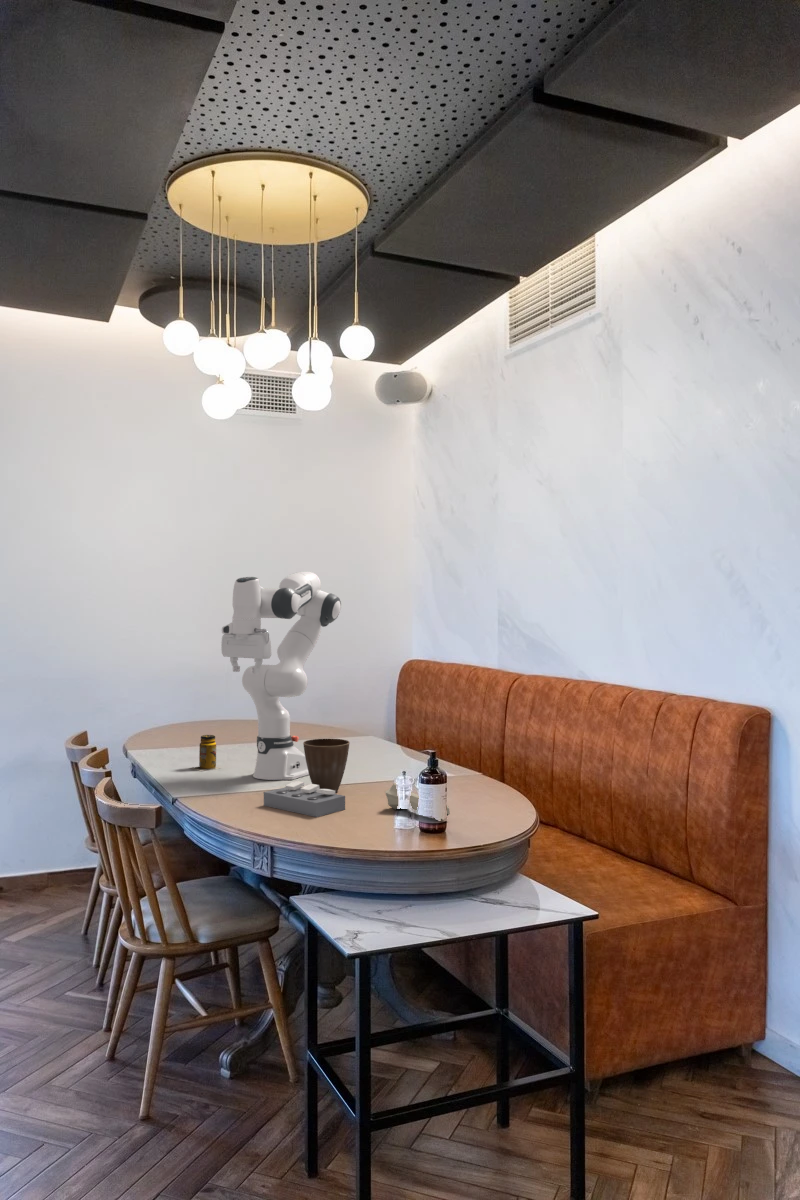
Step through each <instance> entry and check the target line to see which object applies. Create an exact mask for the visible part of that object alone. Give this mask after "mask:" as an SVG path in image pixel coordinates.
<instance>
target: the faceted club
mask: <svg viewBox="0 0 800 1200" xmlns="http://www.w3.org/2000/svg"><path fill="white" fill-rule="evenodd" d="M396 783H397V782H395V783H392V785H391V786H390V787H389V789H387V790H386V791H384V793H385V795H386V798H387V804H388V806H389V807H390V808H392V809H393V810H395V811H397V810H396V809H397V806H398V796H397V789H396ZM418 795H419V794H417V793H414V792H413V791H412V792H411V796H410V803H411V806H412V808H413V809H414V811H416V810H417V807H418V799H419V796H418ZM413 809H412V810H413ZM450 812H451V811H450V807H449V806H448V805H447V817H449V816H450V815H451V813H450Z"/></svg>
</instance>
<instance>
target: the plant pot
mask: <svg viewBox="0 0 800 1200" xmlns="http://www.w3.org/2000/svg"><path fill="white" fill-rule="evenodd" d="M302 744H303V752H304V755H305V758H306V764H307V768H308V772H309V775H308V776H309V779H310V782H311V784H316V785H319V787H320V788H319V789H330V790H335V794H337V793H338V792H339V789H340V786H341V783H342V780H343V777H344V773H345V770H346V765H347V761H348V756H349V749H350V741H349V740H348V739H347V740H346V739H339V738H315V739H314V738H313V739H309V740H305V741H303V743H302Z"/></svg>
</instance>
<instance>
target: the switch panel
mask: <svg viewBox="0 0 800 1200" xmlns="http://www.w3.org/2000/svg"><path fill="white" fill-rule="evenodd" d="M301 788H303V786H302V787H300V788H299V789H295V790H290V789H286V786H285V787H281V788H277V789H271V790H267V791H264V792H263V806H264V807H269V808H273V809H278V810H283V811H287V812H292V813H296V814H299V815H300V814H301V815H305V816H310V817H314V818H318V817H322V816H327V815H329V814H334V813H337V812H338V813H339V812H341V811H344V810H346V796H345V795H343V794H339V793H335V794H330V795H326V794H321V793H318V792H316V790H315V791H314V792H311V793H305V792H301Z"/></svg>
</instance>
